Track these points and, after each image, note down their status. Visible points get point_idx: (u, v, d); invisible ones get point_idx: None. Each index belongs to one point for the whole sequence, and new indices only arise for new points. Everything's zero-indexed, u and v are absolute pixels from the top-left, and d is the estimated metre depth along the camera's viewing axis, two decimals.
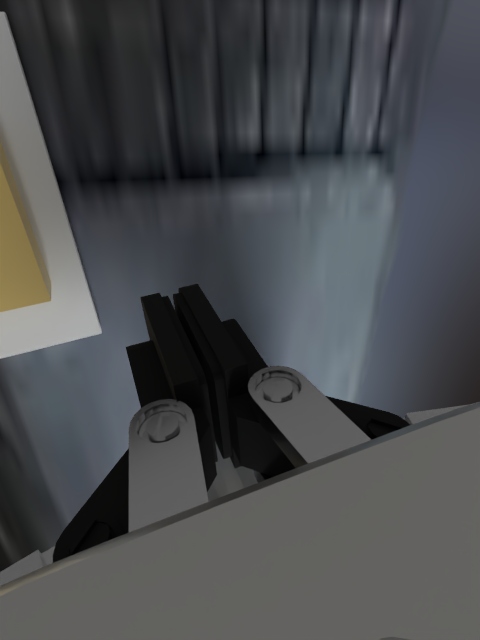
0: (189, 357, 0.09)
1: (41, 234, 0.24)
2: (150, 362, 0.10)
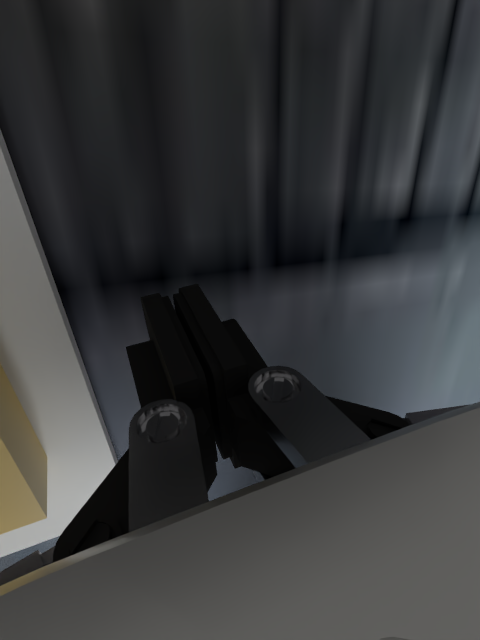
0: (189, 357, 0.09)
1: (28, 388, 0.13)
2: (150, 362, 0.10)
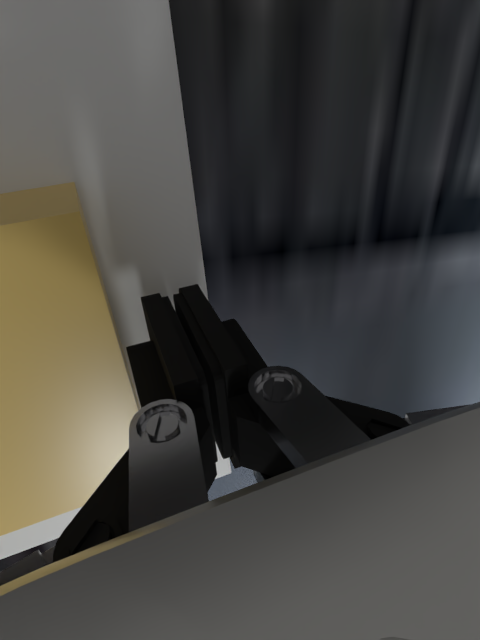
0: (189, 357, 0.09)
1: None
2: (151, 362, 0.10)
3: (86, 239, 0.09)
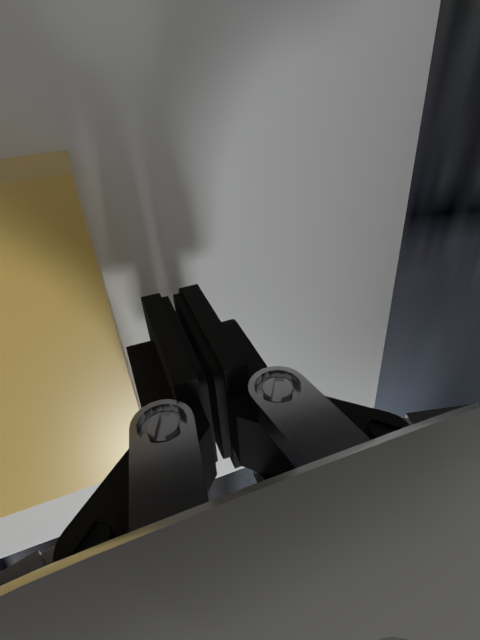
0: (189, 357, 0.09)
1: (358, 298, 0.16)
2: (150, 362, 0.10)
3: (77, 204, 0.08)
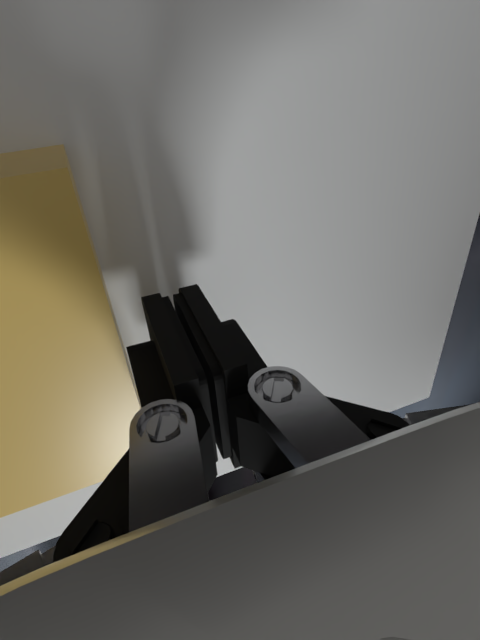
0: (189, 357, 0.09)
1: (433, 275, 0.17)
2: (151, 362, 0.10)
3: (75, 199, 0.08)
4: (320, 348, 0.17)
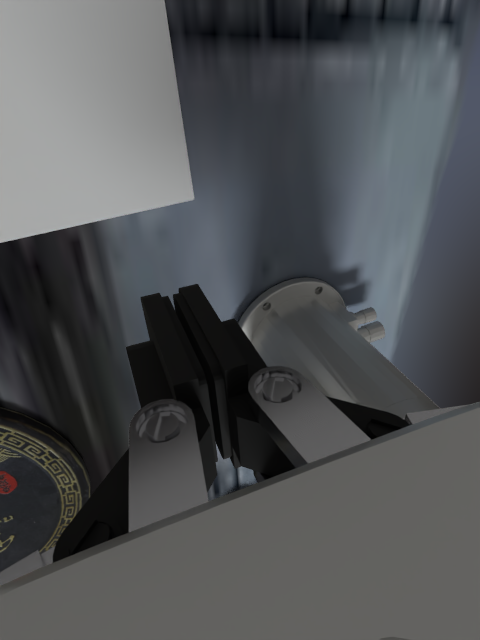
0: (189, 357, 0.09)
1: (151, 84, 0.26)
2: (150, 362, 0.10)
3: None
4: (76, 133, 0.25)
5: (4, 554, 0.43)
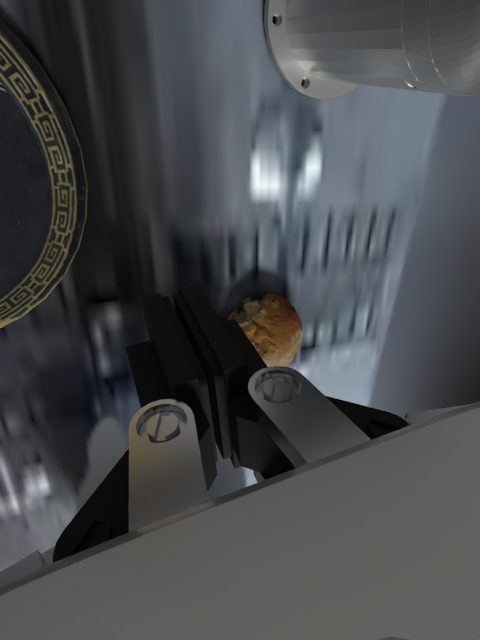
0: (189, 357, 0.09)
1: None
2: (150, 362, 0.10)
3: None
4: None
5: None
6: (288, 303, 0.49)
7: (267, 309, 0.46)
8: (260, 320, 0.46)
